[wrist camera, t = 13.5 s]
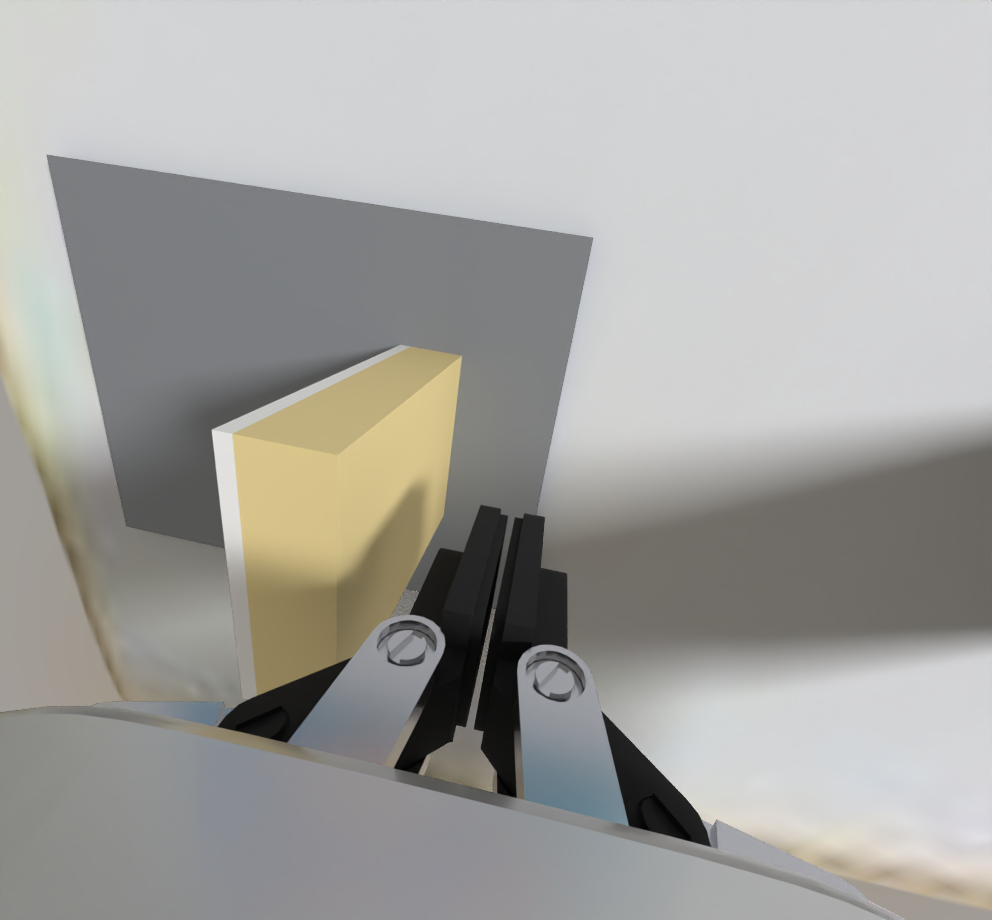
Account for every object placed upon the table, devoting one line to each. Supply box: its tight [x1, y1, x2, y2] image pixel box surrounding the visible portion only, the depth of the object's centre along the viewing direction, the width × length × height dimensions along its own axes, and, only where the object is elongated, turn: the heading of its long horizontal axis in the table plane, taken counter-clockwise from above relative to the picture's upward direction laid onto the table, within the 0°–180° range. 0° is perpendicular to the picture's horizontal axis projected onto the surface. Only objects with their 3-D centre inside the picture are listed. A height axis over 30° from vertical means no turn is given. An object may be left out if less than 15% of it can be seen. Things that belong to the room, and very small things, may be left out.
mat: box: [47, 155, 593, 609], centre depth 19 cm, size 20×16×1 cm
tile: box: [212, 345, 462, 700], centre depth 14 cm, size 2×7×10 cm, turn 171°
